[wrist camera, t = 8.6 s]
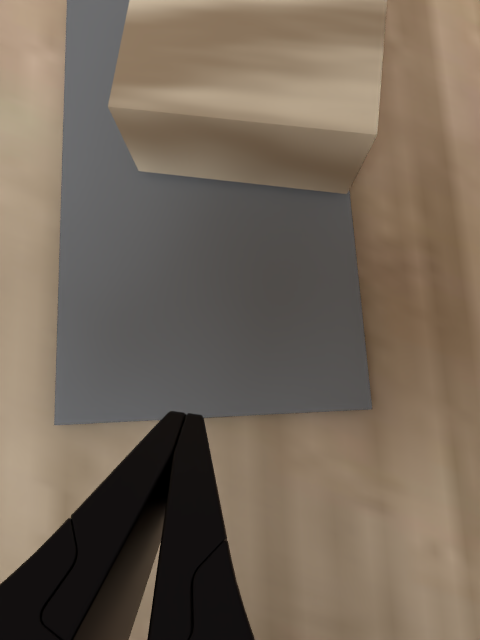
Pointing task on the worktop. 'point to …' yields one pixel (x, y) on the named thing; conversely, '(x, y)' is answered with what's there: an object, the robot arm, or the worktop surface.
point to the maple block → (251, 89)
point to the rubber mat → (191, 275)
